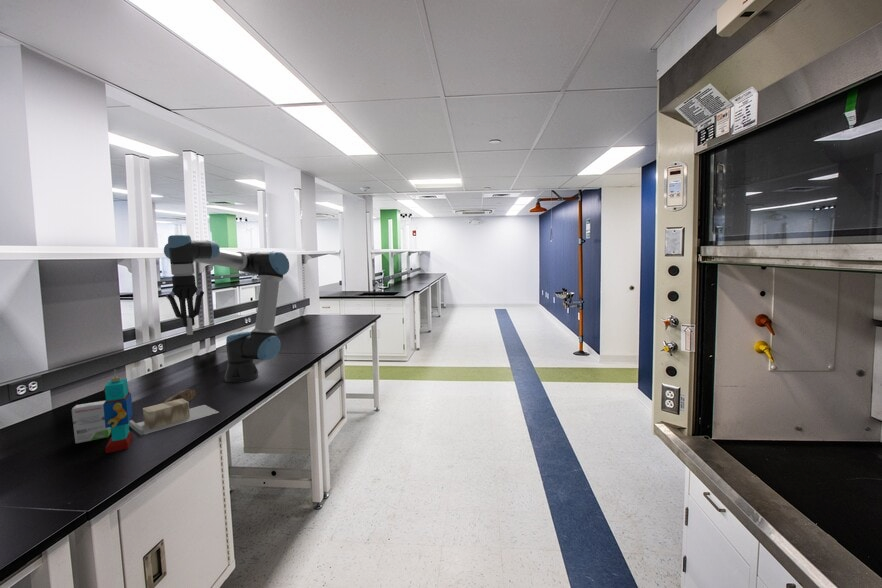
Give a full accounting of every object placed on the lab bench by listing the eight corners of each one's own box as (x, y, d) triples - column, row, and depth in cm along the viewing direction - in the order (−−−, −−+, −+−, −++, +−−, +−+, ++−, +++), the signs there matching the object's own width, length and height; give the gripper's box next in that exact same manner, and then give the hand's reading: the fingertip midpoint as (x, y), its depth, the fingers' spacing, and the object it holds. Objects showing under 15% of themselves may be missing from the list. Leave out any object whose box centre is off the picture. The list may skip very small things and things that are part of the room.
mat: (204, 405, 160) (204, 400, 160) (219, 413, 152) (219, 408, 151) (128, 426, 141) (128, 420, 141) (140, 436, 132) (140, 430, 132)
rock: (185, 408, 159) (184, 394, 158) (156, 411, 155) (155, 397, 155) (196, 395, 173) (195, 383, 173) (169, 398, 170) (168, 385, 169)
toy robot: (112, 441, 129) (105, 366, 127) (135, 436, 132) (129, 364, 130) (104, 455, 119) (96, 375, 117) (129, 450, 122) (122, 372, 120)
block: (181, 398, 151) (142, 408, 141) (188, 402, 146) (149, 412, 137) (182, 413, 151) (144, 424, 141) (189, 417, 147) (150, 429, 137)
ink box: (111, 432, 136) (108, 399, 135) (108, 437, 132) (105, 403, 131) (78, 438, 132) (75, 404, 131) (74, 444, 127) (70, 409, 126)
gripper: (197, 273, 160) (203, 330, 163) (160, 276, 150) (167, 336, 153) (205, 274, 155) (211, 332, 158) (167, 276, 145) (174, 338, 148)
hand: (189, 334), depth 155 cm, fingers closed
